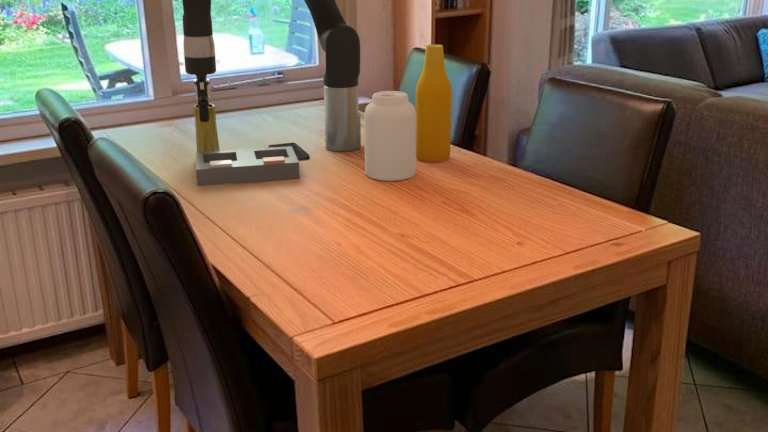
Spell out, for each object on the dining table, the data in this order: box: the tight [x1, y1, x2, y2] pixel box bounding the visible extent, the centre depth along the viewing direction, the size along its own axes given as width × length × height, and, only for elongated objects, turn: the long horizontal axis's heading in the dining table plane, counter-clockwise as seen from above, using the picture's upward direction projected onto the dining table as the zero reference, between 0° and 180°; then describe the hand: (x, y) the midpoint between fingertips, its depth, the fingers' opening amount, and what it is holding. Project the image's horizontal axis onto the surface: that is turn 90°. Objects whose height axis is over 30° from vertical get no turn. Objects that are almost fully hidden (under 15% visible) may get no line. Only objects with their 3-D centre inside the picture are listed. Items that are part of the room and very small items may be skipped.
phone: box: [267, 142, 311, 161], centre depth 205 cm, size 8×1×15 cm
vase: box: [193, 103, 221, 152], centre depth 198 cm, size 6×6×14 cm
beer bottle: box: [415, 44, 453, 164], centre depth 195 cm, size 9×9×29 cm
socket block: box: [195, 146, 301, 187], centre depth 188 cm, size 24×15×5 cm, turn 103°
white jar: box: [363, 90, 417, 182], centre depth 184 cm, size 12×12×20 cm
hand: (204, 117), depth 196 cm, fingers open, 8 cm apart
